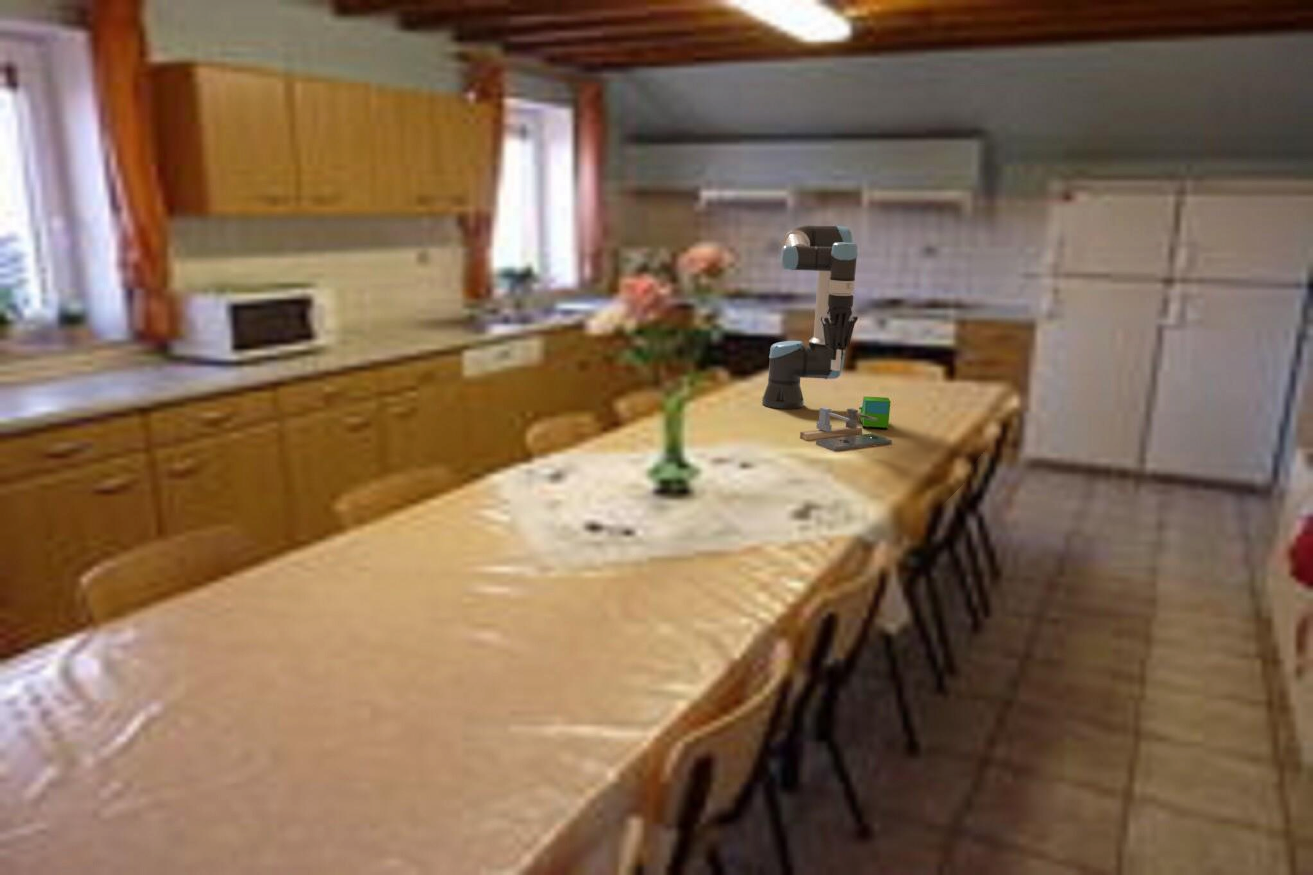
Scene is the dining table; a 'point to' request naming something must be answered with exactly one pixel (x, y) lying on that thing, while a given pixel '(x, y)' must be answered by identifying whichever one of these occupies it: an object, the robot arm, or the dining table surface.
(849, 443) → the hole plate
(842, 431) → the rail
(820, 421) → the grey hammer
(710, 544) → the dining table surface
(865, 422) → the green box
